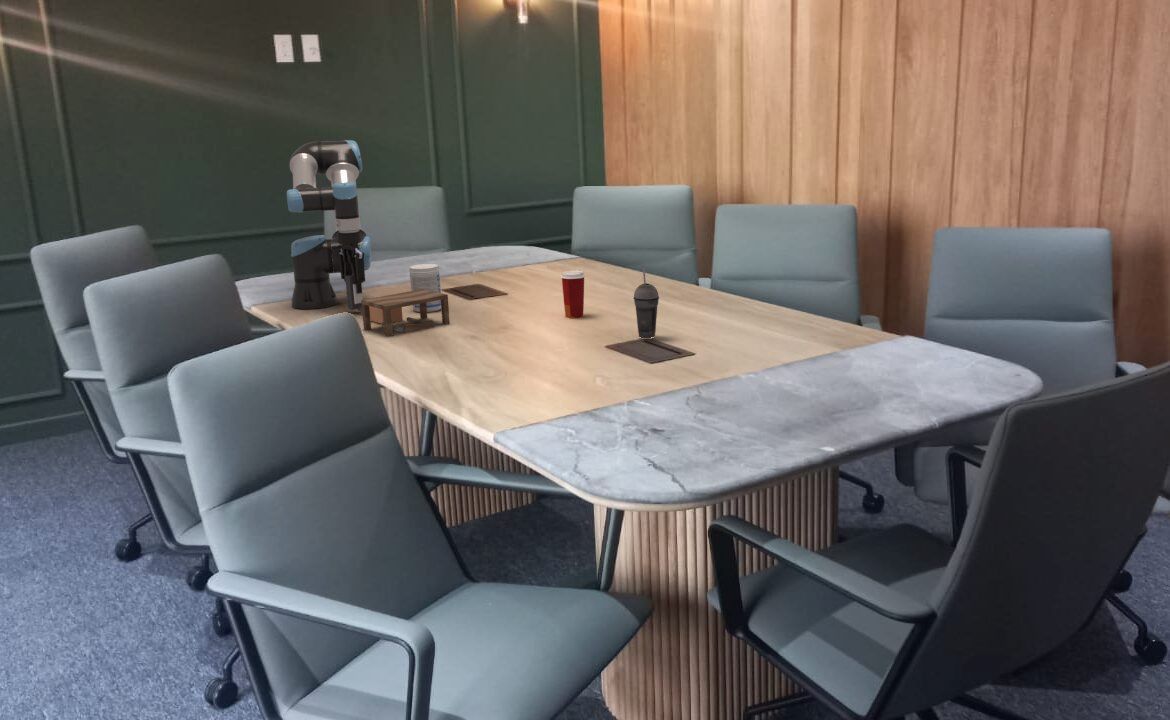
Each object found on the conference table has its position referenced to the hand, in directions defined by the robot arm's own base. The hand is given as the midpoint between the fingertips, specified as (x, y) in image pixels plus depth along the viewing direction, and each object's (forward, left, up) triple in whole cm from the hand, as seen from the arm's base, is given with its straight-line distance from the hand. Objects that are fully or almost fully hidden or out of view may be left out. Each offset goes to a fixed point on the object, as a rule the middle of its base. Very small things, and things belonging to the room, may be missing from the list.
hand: (355, 301), depth 333 cm
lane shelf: (+31, 0, -4) cm, 31 cm away
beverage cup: (+97, +38, -4) cm, 104 cm away
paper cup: (+60, +43, -4) cm, 74 cm away
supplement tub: (+15, +18, -4) cm, 24 cm away
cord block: (+11, 0, -3) cm, 11 cm away
